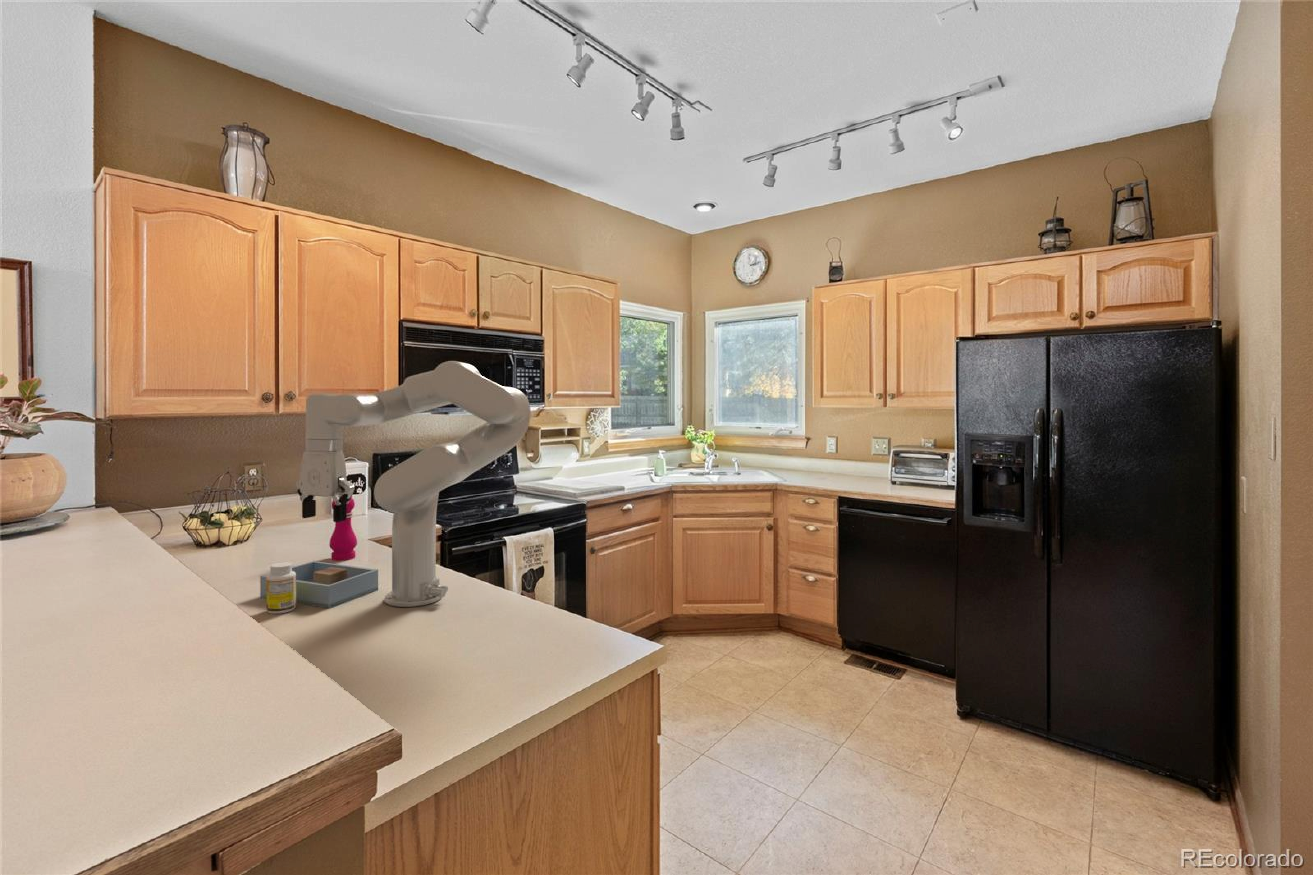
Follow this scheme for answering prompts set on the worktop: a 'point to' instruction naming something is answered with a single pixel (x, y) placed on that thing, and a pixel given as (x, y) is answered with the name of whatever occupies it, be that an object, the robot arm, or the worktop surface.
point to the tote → (333, 594)
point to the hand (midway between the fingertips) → (324, 519)
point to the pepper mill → (343, 537)
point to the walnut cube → (329, 575)
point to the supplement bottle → (281, 588)
